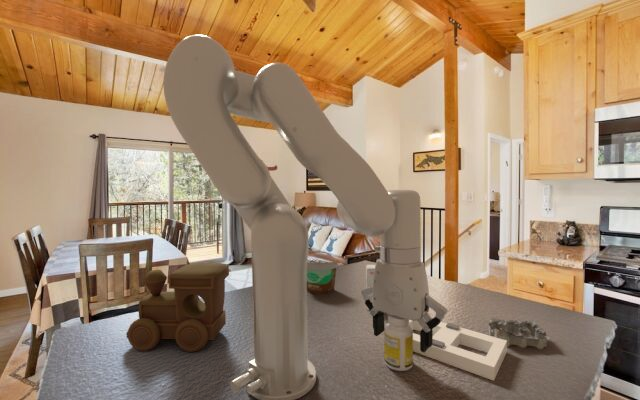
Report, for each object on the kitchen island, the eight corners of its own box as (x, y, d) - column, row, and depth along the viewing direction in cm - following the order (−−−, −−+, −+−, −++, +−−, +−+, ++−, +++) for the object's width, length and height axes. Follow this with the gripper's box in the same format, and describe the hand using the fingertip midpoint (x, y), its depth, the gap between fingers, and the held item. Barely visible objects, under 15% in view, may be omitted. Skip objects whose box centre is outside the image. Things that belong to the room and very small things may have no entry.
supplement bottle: (408, 355, 64) (409, 309, 63) (416, 372, 58) (416, 321, 58) (381, 355, 64) (382, 309, 63) (387, 372, 58) (387, 321, 58)
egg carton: (495, 347, 67) (496, 328, 67) (485, 330, 75) (485, 314, 74) (551, 352, 65) (552, 333, 65) (535, 334, 73) (535, 317, 72)
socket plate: (493, 380, 56) (494, 364, 55) (387, 342, 69) (387, 328, 69) (506, 352, 65) (507, 338, 65) (410, 322, 78) (410, 311, 78)
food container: (296, 293, 100) (296, 262, 99) (303, 286, 106) (302, 257, 105) (333, 297, 96) (333, 265, 95) (338, 290, 102) (338, 260, 101)
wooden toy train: (232, 329, 76) (230, 261, 75) (214, 355, 65) (212, 276, 63) (152, 327, 77) (149, 261, 76) (121, 353, 66) (117, 275, 64)
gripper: (351, 252, 62) (353, 335, 64) (438, 266, 51) (439, 366, 52) (371, 245, 68) (372, 321, 69) (453, 256, 57) (453, 347, 58)
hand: (401, 340), depth 61 cm, fingers open, 9 cm apart
